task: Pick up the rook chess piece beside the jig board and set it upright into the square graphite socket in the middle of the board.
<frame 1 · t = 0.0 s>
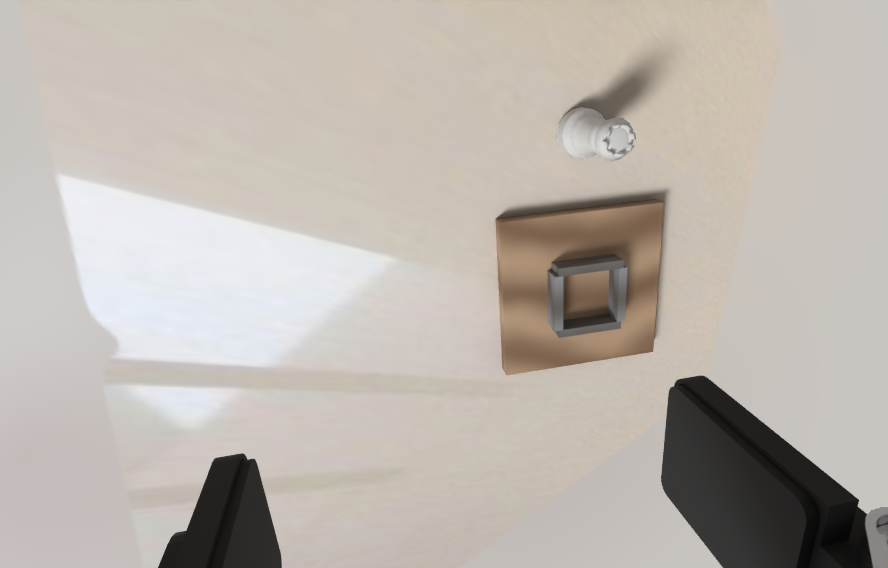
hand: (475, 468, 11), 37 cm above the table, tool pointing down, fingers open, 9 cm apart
jig board: (576, 286, 52), on the table
rook chess piece: (576, 132, 47), on the table
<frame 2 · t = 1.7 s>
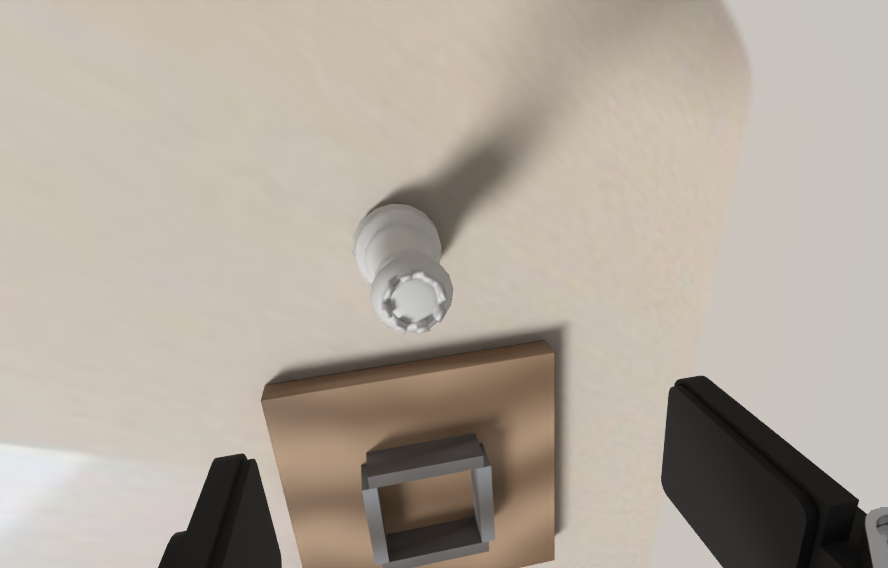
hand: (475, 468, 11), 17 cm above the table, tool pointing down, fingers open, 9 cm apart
jig board: (423, 473, 32), on the table
rook chess piece: (395, 243, 27), on the table
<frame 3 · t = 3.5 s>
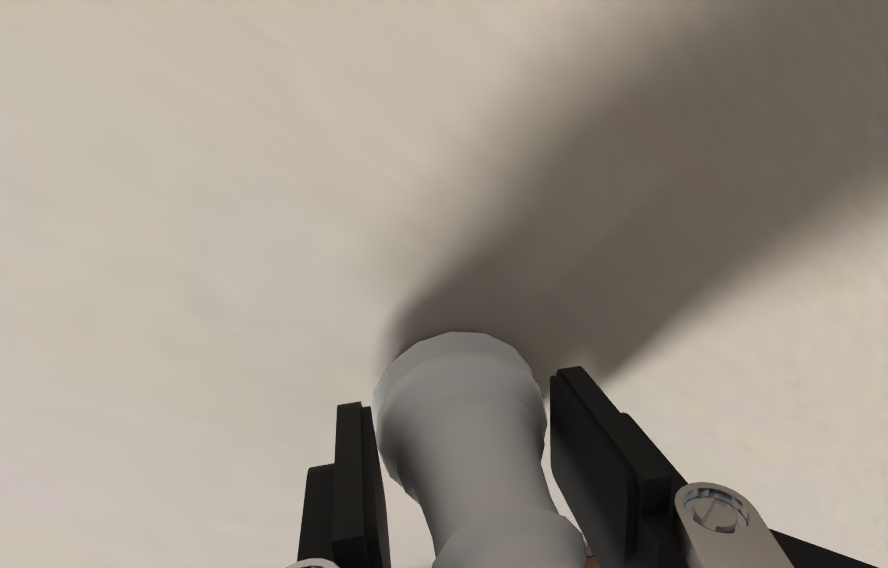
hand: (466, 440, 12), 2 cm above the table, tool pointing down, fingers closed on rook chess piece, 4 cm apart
rook chess piece: (451, 393, 14), on the table, touching gripper
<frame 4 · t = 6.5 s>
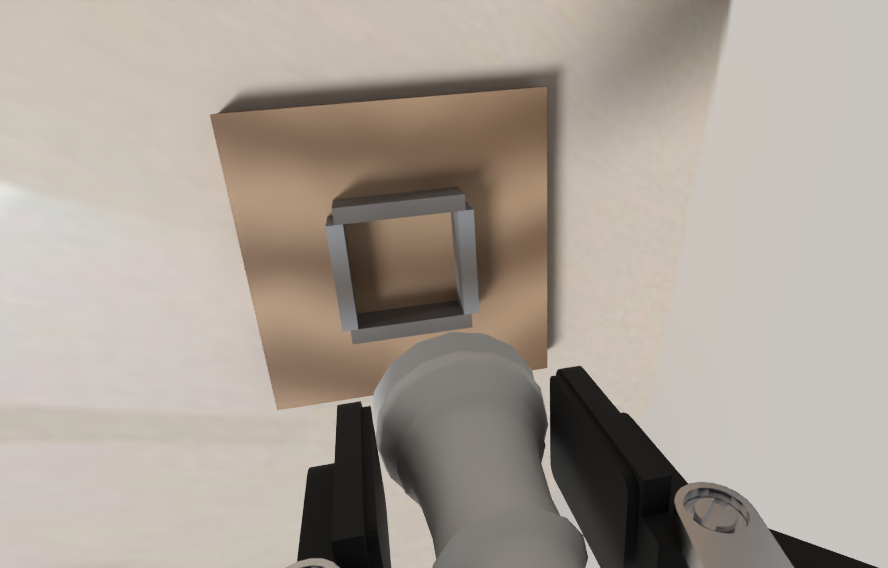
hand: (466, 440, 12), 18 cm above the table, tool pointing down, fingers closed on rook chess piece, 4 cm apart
jig board: (400, 251, 29), on the table
rook chess piece: (451, 394, 14), point 16 cm above the table, touching gripper
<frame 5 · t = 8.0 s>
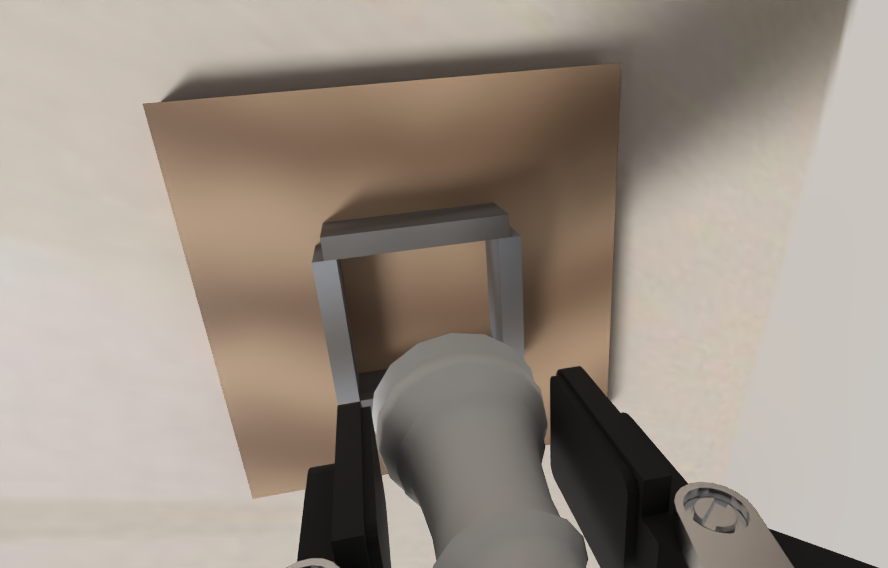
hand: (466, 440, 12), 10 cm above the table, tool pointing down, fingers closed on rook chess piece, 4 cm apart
jig board: (415, 287, 21), on the table
rook chess piece: (451, 394, 14), point 8 cm above the table, touching gripper
when the fingers open (4 cm above the table, at t = 9.4 s): rook chess piece stays where it is, resting on jig board.
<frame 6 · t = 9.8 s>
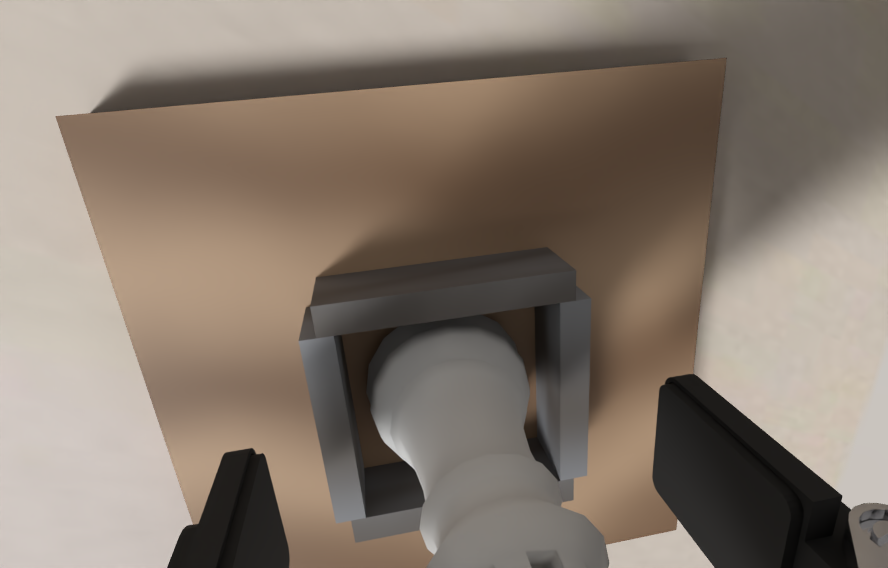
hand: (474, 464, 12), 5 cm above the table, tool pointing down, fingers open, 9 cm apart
jig board: (437, 352, 17), on the table
rook chess piece: (441, 368, 15), point 1 cm above the table, touching jig board
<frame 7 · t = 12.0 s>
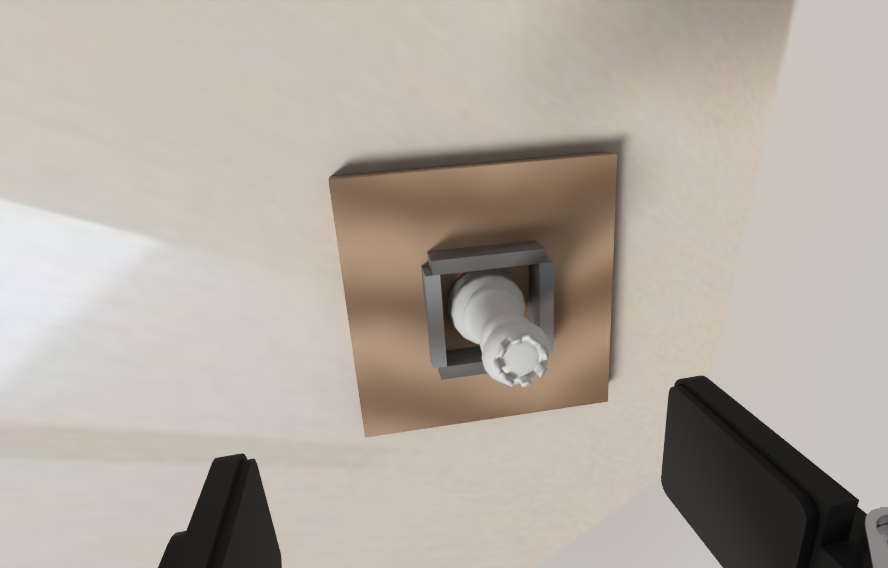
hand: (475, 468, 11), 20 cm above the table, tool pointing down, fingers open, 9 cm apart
jig board: (479, 295, 32), on the table
rook chess piece: (482, 299, 31), point 1 cm above the table, touching jig board
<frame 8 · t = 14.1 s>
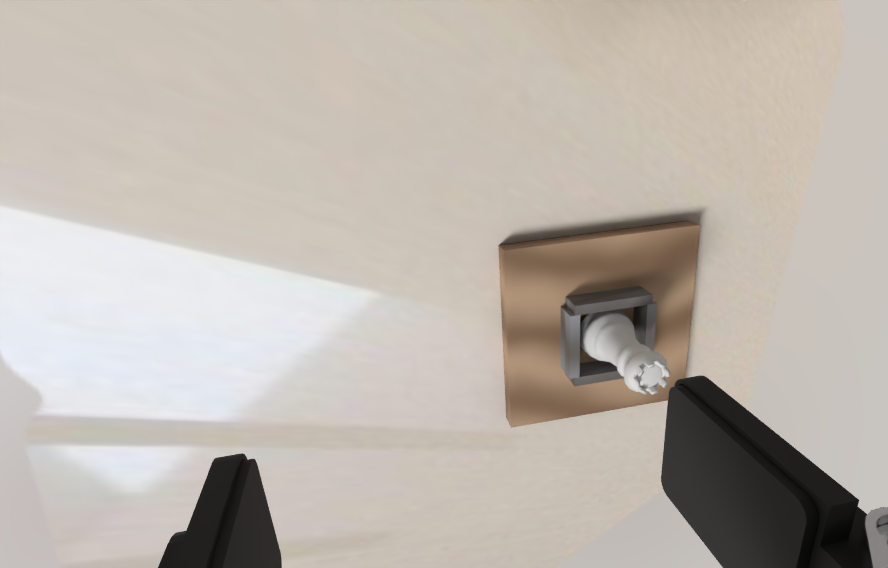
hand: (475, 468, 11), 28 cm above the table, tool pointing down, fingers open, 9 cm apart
jig board: (593, 323, 44), on the table
rook chess piece: (599, 328, 43), point 1 cm above the table, touching jig board
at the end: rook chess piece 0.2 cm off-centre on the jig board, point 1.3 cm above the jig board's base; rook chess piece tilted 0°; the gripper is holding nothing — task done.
